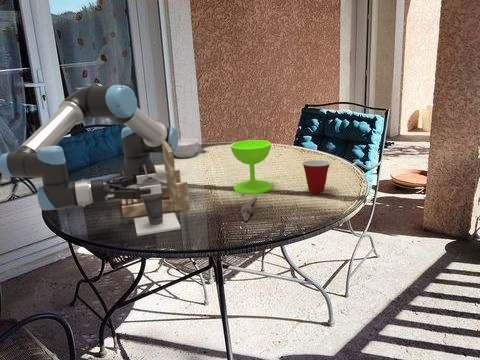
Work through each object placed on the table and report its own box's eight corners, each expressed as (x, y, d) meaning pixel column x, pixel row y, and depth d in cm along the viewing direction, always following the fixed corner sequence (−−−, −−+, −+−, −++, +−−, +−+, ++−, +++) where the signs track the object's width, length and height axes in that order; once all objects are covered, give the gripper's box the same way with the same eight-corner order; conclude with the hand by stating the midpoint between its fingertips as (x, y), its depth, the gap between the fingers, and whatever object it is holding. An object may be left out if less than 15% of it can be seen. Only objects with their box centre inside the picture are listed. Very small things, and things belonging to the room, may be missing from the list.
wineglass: (260, 196, 176) (258, 150, 171) (225, 191, 184) (222, 147, 179) (279, 184, 189) (278, 141, 183) (246, 180, 197) (244, 139, 192)
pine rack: (123, 219, 161) (114, 158, 154) (121, 201, 179) (113, 147, 173) (190, 209, 167) (184, 150, 160) (181, 193, 185) (175, 139, 179)
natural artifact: (241, 226, 152) (234, 217, 151) (255, 200, 173) (248, 192, 172) (250, 220, 151) (242, 211, 150) (262, 195, 171) (256, 187, 171)
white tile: (137, 236, 146) (136, 233, 146) (134, 220, 159) (133, 218, 158) (180, 228, 149) (180, 226, 149) (174, 214, 162) (174, 212, 162)
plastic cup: (332, 187, 180) (332, 158, 177) (328, 196, 170) (328, 165, 167) (305, 186, 184) (304, 157, 180) (299, 195, 174) (299, 164, 171)
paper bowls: (198, 158, 239) (196, 143, 237) (169, 160, 240) (167, 145, 238) (200, 151, 254) (199, 137, 252) (173, 153, 254) (172, 139, 252)
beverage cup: (162, 226, 150) (153, 167, 144) (141, 226, 151) (132, 168, 145) (170, 218, 157) (162, 161, 151) (150, 218, 158) (141, 162, 152)
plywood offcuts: (124, 215, 164) (122, 203, 163) (122, 205, 176) (121, 193, 174) (138, 213, 166) (137, 201, 164) (136, 202, 177) (135, 191, 176)
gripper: (93, 192, 157) (155, 183, 163) (92, 216, 134) (164, 205, 140) (90, 171, 155) (153, 163, 161) (88, 192, 132) (162, 182, 138)
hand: (158, 182), depth 150 cm, fingers open, 13 cm apart
